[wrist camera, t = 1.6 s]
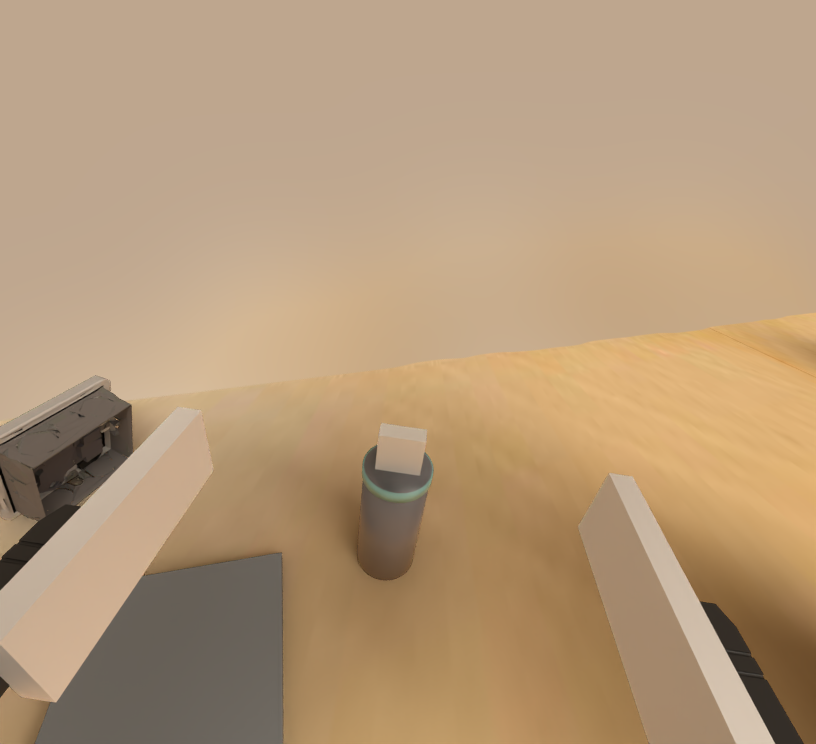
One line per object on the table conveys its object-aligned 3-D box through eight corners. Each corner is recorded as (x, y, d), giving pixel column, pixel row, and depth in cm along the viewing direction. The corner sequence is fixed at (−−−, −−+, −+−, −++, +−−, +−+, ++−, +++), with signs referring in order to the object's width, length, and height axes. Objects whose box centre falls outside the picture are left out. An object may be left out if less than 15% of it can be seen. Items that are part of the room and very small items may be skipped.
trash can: (416, 530, 34) (441, 414, 27) (412, 585, 30) (440, 465, 23) (361, 522, 34) (371, 404, 27) (350, 576, 30) (358, 453, 23)
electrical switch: (108, 443, 38) (84, 365, 33) (154, 461, 37) (136, 385, 32) (-2, 521, 30) (-57, 436, 25) (53, 546, 29) (9, 464, 24)
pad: (282, 558, 30) (281, 552, 30) (283, 768, 21) (282, 764, 20) (99, 590, 27) (95, 584, 26) (-1, 859, 17) (-9, 856, 17)
